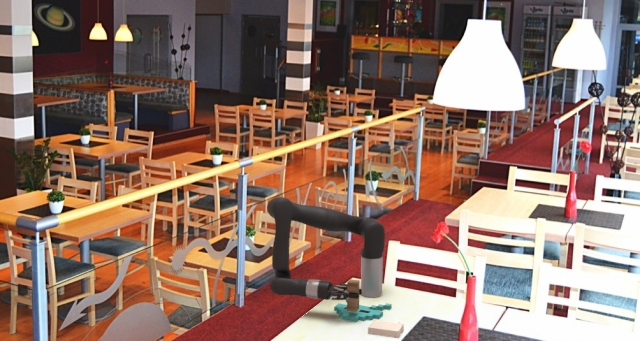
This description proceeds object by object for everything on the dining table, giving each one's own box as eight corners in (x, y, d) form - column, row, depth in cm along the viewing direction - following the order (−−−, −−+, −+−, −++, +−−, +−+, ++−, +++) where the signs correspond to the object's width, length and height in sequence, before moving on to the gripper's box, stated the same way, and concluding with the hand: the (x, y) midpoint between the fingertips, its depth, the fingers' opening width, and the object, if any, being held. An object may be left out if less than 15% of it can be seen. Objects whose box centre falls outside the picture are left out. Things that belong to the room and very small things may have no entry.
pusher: (349, 307, 333) (349, 279, 330) (359, 308, 331) (359, 280, 329) (346, 310, 329) (347, 282, 326) (356, 312, 328) (357, 283, 325)
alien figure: (348, 301, 351) (326, 317, 333) (348, 296, 350) (326, 312, 333) (391, 309, 342) (371, 326, 324) (391, 304, 341) (371, 321, 324)
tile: (373, 319, 323) (403, 323, 319) (373, 326, 324) (403, 330, 320) (368, 327, 316) (398, 331, 312) (368, 334, 317) (398, 338, 313)
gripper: (313, 286, 325) (355, 291, 320) (324, 274, 339) (364, 279, 334) (313, 304, 327) (355, 309, 322) (324, 292, 340) (364, 296, 335)
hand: (359, 293), depth 328 cm, fingers closed on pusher, 4 cm apart
